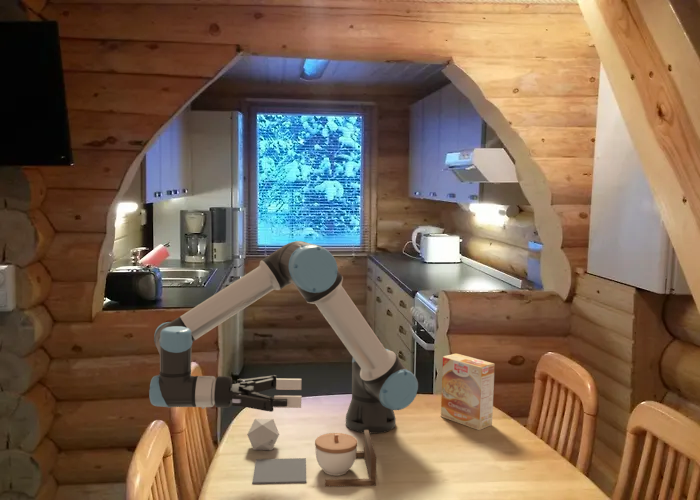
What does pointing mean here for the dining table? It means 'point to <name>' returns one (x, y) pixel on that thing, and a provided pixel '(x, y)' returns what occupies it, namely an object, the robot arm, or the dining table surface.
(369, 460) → the shelf lane
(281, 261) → the robot arm
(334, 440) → the lidded jar
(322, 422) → the dining table surface
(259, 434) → the die
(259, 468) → the pad
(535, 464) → the dining table surface
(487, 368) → the coffeecake box
